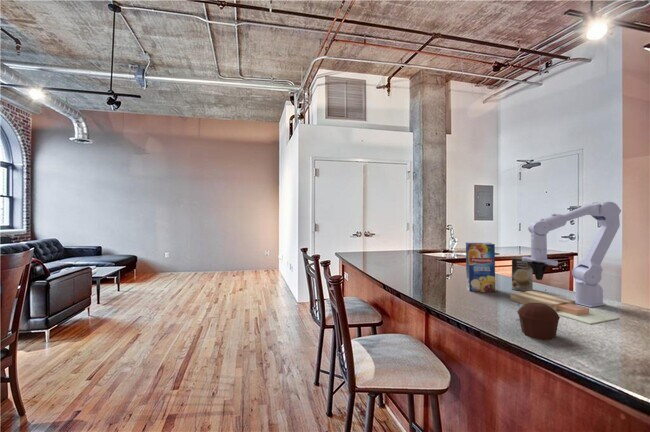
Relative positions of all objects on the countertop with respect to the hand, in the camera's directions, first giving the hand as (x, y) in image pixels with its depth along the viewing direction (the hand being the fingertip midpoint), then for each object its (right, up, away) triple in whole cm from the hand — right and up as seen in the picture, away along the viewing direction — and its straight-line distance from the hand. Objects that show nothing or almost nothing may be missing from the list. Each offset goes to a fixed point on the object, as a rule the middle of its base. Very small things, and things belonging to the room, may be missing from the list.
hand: (539, 279), depth 134 cm
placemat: (+4, -10, -18) cm, 21 cm away
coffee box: (+7, -10, +22) cm, 25 cm away
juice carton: (-14, -10, +22) cm, 29 cm away
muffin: (-25, -11, -35) cm, 44 cm away
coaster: (+3, -10, -15) cm, 18 cm away
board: (-1, -10, -3) cm, 10 cm away
